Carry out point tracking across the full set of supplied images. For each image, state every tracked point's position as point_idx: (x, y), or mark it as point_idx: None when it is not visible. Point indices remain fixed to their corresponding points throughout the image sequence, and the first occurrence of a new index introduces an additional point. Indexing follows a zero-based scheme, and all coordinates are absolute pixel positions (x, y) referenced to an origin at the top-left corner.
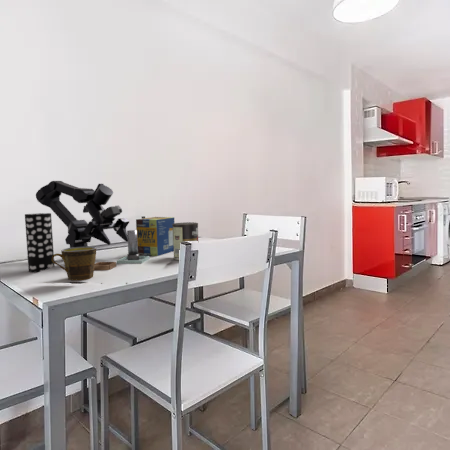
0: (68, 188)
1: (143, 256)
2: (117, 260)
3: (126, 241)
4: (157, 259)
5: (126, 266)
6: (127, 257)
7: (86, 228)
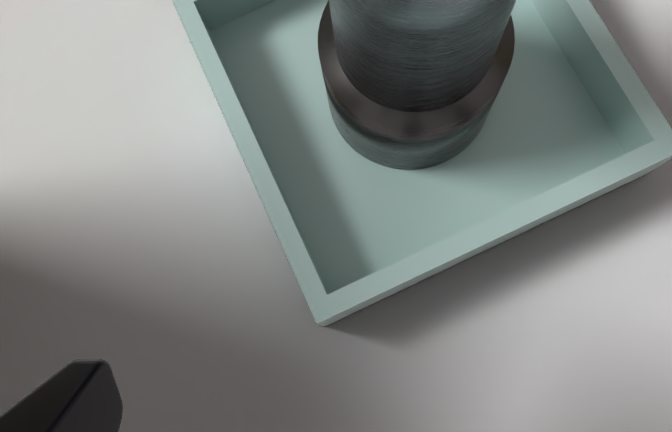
0: None
1: (219, 56)
2: (667, 146)
3: (118, 415)
4: (59, 29)
5: None
6: (493, 101)
7: None
